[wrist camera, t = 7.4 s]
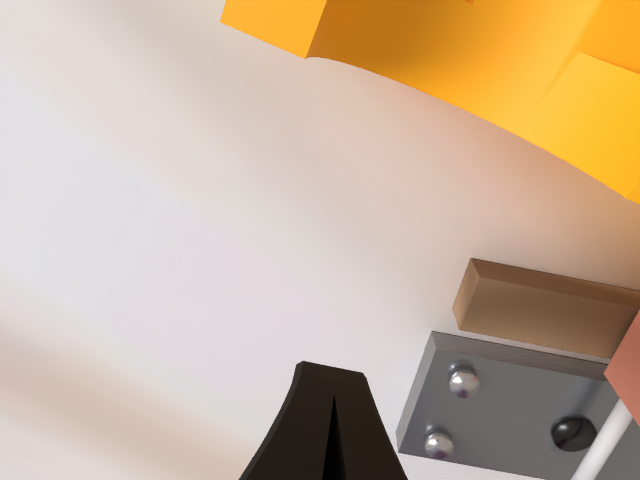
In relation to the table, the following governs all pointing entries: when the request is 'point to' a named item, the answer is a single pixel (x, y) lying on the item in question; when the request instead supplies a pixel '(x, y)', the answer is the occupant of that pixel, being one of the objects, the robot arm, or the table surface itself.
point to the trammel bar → (544, 308)
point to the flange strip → (512, 411)
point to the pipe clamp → (490, 64)
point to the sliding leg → (635, 402)
